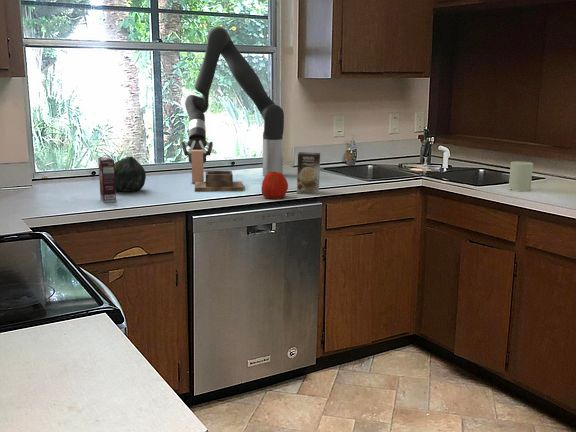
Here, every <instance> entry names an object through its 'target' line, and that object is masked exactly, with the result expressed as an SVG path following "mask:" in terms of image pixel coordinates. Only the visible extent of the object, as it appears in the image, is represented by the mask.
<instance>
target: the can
mask: <svg viewBox="0 0 576 432" xmlns="http://www.w3.org/2000/svg"><path fill="white" fill-rule="evenodd" d="M533 168H534V162H529V161H523V160H522V161H518V160H517V161H511V162H510V169H509V180H508V188H510V189H513V190H520V191H519V192H530V191H529V190H531V191H532V178H533V170H534V169H533ZM513 190H512V191H513Z"/></svg>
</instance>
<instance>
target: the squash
mask: <svg viewBox="0 0 576 432" xmlns="http://www.w3.org/2000/svg"><path fill="white" fill-rule="evenodd" d="M114 169H115V188H116V192H121V191H126V192H128V191H129V192H131V193H135V192H139V191H141V190H142V189H143V188H144V186H145V183H146V178H147V177H146V176H147V174H146V170H145V168H144V167H143V165H142V164H141V163H140V162H139V161H138V160H137V159H136V158H135V157H134V156H126V157H124V158H121V159H120V160H117V161H116V162H114Z"/></svg>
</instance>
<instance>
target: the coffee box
mask: <svg viewBox="0 0 576 432" xmlns="http://www.w3.org/2000/svg"><path fill="white" fill-rule="evenodd" d="M320 173H321V153H320V152H303V151H302V152H300V151H299V152H298V153H297V173H296V175H297V178H296V194H309V195H310V194H312V195H319V193H320V175H321V174H320Z"/></svg>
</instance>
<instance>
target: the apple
mask: <svg viewBox="0 0 576 432" xmlns="http://www.w3.org/2000/svg"><path fill="white" fill-rule="evenodd" d="M288 190H289V184H288V181H287V179H286V177H285V176H284V173H283V174H282V173H280V172H275V171H274V172H269V173H267V174H266V176H264V178H263V180H262V183H261V194H262V196H263V197H264V198H266V199H270V200H279V199H282V198H284V197H285V196H286V194H287V192H288Z"/></svg>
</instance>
